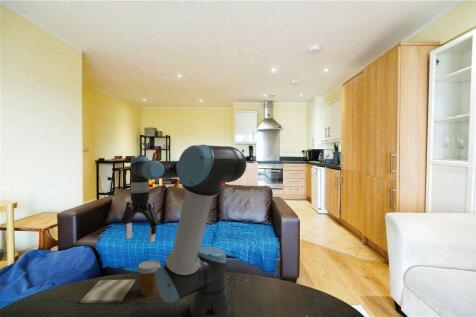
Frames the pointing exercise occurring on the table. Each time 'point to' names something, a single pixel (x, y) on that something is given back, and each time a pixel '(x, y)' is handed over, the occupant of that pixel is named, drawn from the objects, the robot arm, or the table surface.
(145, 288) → the disposable coffee cup
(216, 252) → the robot arm
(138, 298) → the table surface
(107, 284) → the wooden board
